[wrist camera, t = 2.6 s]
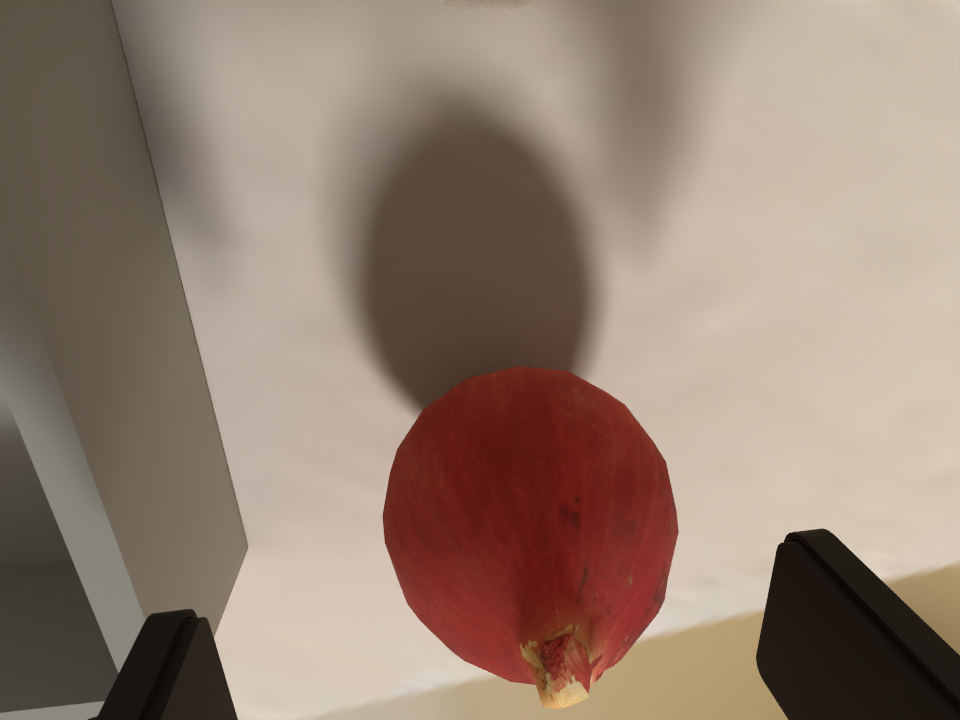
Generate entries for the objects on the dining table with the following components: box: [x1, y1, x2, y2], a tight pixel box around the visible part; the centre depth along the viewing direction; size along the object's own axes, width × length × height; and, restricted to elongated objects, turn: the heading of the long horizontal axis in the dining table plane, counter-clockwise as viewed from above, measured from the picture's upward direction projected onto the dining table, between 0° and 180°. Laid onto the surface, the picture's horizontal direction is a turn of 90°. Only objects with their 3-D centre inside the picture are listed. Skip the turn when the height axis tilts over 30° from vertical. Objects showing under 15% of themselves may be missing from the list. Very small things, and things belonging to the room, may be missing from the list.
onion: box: [383, 366, 678, 709], centre depth 12 cm, size 6×6×8 cm
